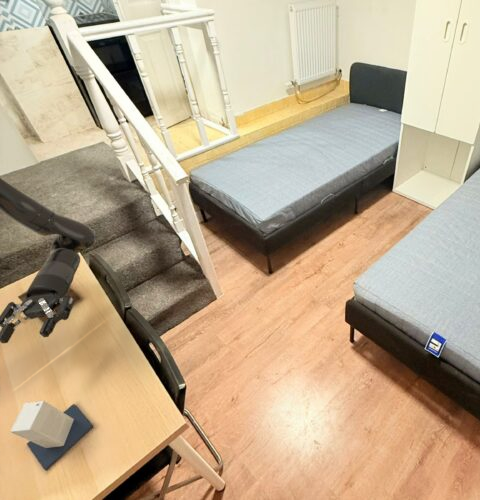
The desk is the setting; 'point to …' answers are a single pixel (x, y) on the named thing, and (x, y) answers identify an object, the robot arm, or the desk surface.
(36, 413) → the cosmetic box
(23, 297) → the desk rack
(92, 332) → the desk surface
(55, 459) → the mat
